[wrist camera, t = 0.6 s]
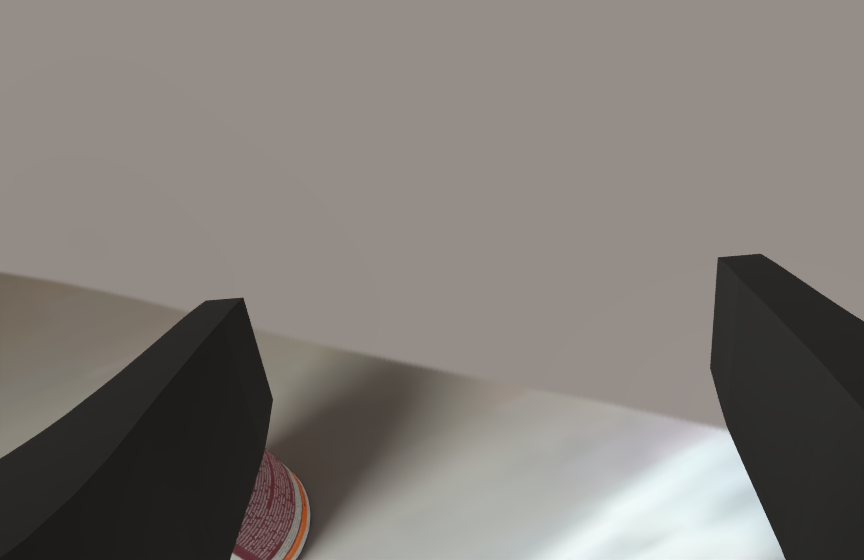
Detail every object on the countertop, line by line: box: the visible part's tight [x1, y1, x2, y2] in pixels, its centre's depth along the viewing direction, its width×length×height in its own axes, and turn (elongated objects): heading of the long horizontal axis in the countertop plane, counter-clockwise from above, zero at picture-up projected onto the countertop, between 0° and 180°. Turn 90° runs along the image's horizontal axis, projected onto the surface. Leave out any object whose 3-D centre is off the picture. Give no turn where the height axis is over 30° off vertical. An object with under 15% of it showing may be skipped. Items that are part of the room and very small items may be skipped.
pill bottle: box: [230, 448, 310, 560], centre depth 26 cm, size 5×5×8 cm
